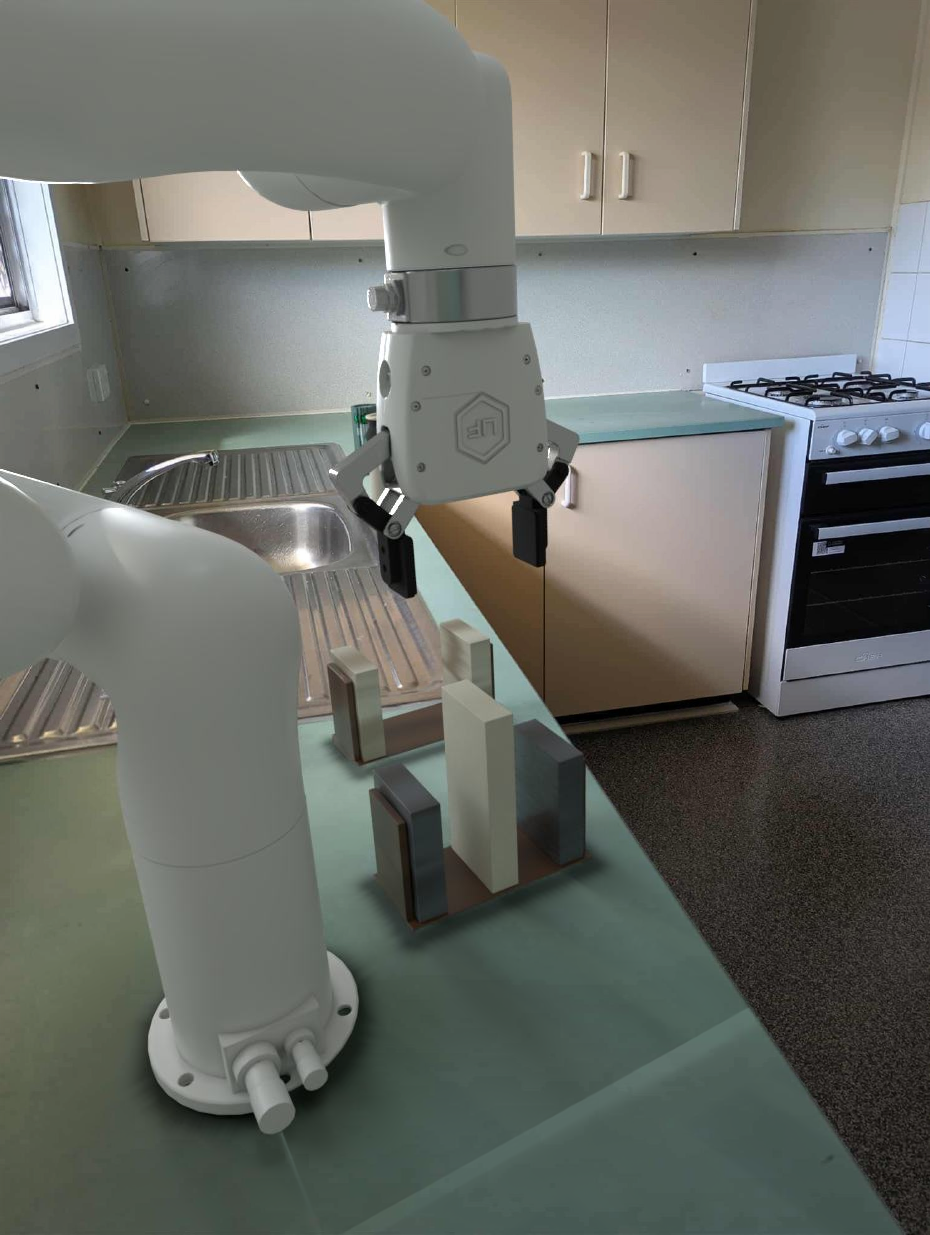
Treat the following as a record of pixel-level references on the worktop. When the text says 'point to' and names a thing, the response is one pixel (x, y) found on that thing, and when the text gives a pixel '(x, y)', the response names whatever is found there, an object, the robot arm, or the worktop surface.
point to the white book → (481, 783)
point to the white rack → (380, 738)
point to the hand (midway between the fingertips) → (467, 576)
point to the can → (361, 422)
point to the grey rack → (437, 876)
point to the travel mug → (375, 476)
